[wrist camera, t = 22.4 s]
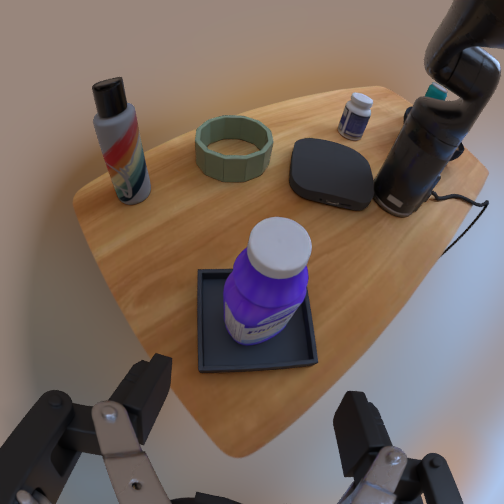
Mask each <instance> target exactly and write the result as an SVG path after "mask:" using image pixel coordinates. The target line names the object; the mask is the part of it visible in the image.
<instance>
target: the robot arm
mask: <svg viewBox="0 0 504 504" xmlns="http://www.w3.org/2000/svg"><path fill="white" fill-rule="evenodd" d="M481 47H489V48H499V49H504V0H454V1H453V3H452V5H451V7H450V9H449V11H448V13H447V15H446V16H445V18H444V19H443V21H442V23H441V24H440V26H439V27H438V29H437V30H436V32H435V33H434V35H433V37H432V39H431V41H430V42H429V44H428V47H427V49H426V53H425V58H424V65H425V70H426V72H427V74H428V75H429V76H430V77H431V78H432V79H434V80H435V81H436V82H438V83H439V84H441V85H443V86H444V87H445V88H447V89H448V90H450V91H451V92H453V93H454V94H456V95H457V96H459V97H460V98H459V99H458V100H455V101H443V100H438V99H434V98H430V97H419V98H418V99H417V100H416V101H415V103H414V105H413V107H412V109H411V111H410V113H409V115H408V117H407V119H406V121H405V123H404V125H403V127H402V129H401V131H400V133H399V135H398V137H397V139H396V141H395V143H394V145H393V147H392V148H391V150H390V152H389V154H388V156H387V158H386V160H385V162H384V163H383V165H382V167H381V169H380V171H379V173H378V174H377V176H376V178H375V179H374V180H373V183H374V196H373V197H374V199H375V201H376V202H377V203H378V204H379V205H380V206H381V207H382V208H383V209H384V210H385V211H387V212H388V213H390V214H392V215H395V216H398V217H407V216H409V215H410V214H411V213H412V212H413V211H415V212H416V211H417V209H418V208H419V207H420V206H421V204H422V203H423V202H426V201H427V200H428V198H429V197H430V196H431V194H432V195H433V196H434V197H435V199H436V200H446V199H449V198H460V199H463V200H465V201H467V202H469V203H471V204H473V205H475V206H478V207H482V206H484V207H483V209H482V210H481V212H480V213H479V214H478V216H477V217H476V218H475V219H474V221H473V222H472V223H471V224H470V225H469V226H468V228H467V229H466V230H465V231H464V232H463V233H462V234H461V235H460V236H459V237H458V238H457V239H456V240H455V241H454V242H453V243H452V244H451V245H450V246H449V247H448V248H447V249H446V250H445V251H444V252H443V253H442V255H444V253H446V252H447V251H448V250H449V249H450V248H451V247H452V246H453V245H454V244H455V243H456V242H457V241H459V239H461V237H463V235H464V234H465V233H466V232H467V231H468V230H469V229H470V228H471V227H472V226H473V225H474V224H475V222H476V221H477V220H478V219H479V217H480V216H481V215H482V213H483V212H484V211H485V209H486V208H487V206H488V204H489V201H488V200H486V201H485V202H484V203H482V204H480V203H476V202H474V201H472V200H470V199H468V198H466V197H464V196H462V195H458V194H450V195H446V196H442V197H440V196H438V195H437V193H436V192H434V191H432V190H433V188H434V187H435V186H436V184H437V183H438V182H439V180H440V178H441V176H440V173H441V172H442V170H443V169H444V167H445V166H446V165H447V163H448V162H449V160H450V158H451V157H452V155H453V154H454V152H455V151H456V149H457V148H458V146H459V145H460V143H461V141H462V140H463V138H464V137H465V136H466V135H467V133H468V132H469V131H470V129H471V128H472V126H473V124H474V123H475V121H476V120H477V118H478V117H479V115H480V114H481V112H482V110H483V109H484V107H485V106H486V104H487V103H488V101H489V100H490V98H491V97H492V95H493V93H494V92H495V90H496V88H497V85H498V83H499V80H500V76H501V67H500V64H499V62H498V61H497V60H496V59H495V58H494V57H493V56H492V55H490V54H489V53H488V52H486V51H485V50H484V49H482V48H481ZM442 255H441V256H442ZM171 371H172V358H171V357H168V356H164V355H161V354H158V353H155V354H154V356H153V357H152V359H151V360H150V362H147V361H144V360H141V361H140V362H138V363H136V364H134V365H133V366H132V368H131V369H130V370H129V372H128V374H127V375H126V376H125V378H124V379H123V380H122V382H121V383H120V384H119V386H118V387H117V389H116V390H115V392H114V393H113V394H112V396H111V397H110V398H109V400H108V401H102V402H99V403H97V404H96V405H94V406H85V405H80V404H75V403H72V400H71V398H70V397H69V395H67V394H66V393H64V392H62V391H59V390H51V391H48V392H46V393H44V394H43V395H42V396H41V397H40V398H39V400H38V401H37V402H36V403H35V404H34V406H33V407H32V408H31V409H30V411H29V412H28V413H27V414H26V416H25V417H24V418H23V419H22V421H21V422H20V423H19V424H18V426H17V427H16V428H15V429H14V431H13V432H12V433H11V435H10V436H9V437H8V439H7V440H6V441H5V443H4V444H3V445H2V447H1V448H0V504H56V502H57V500H58V498H59V496H60V494H61V492H62V490H63V488H64V485H65V484H66V482H67V480H68V478H69V476H70V474H71V472H72V470H73V469H74V466H75V465H76V463H77V461H78V459H79V457H80V455H81V453H82V452H85V453H90V454H96V455H102V456H103V459H104V463H105V466H106V469H107V472H108V475H109V478H110V481H111V483H112V486H113V489H114V491H115V494H116V497H117V499H118V501H119V504H241V503H239V502H236V501H233V500H230V499H228V498H225V497H219V496H213V495H209V494H204V493H200V492H196V495H195V498H178V499H173V500H169V498H168V497H167V494H166V493H165V491H164V489H163V487H162V485H161V483H160V481H159V479H158V477H157V475H156V473H155V471H154V469H153V467H152V465H151V462H150V460H149V458H148V456H147V454H146V453H145V452H144V451H142V449H141V447H140V444H141V445H144V444H145V442H146V440H147V438H148V435H149V433H150V431H151V429H152V427H153V425H154V423H155V420H156V418H157V416H158V414H159V412H160V410H161V408H162V406H163V403H164V401H165V399H166V397H167V395H168V392H169V389H170V384H171ZM383 424H384V423H383V420H382V419H381V416H380V413H379V411H378V409H377V408H376V407H375V406H374V405H373V404H372V403H371V402H368V401H367V398H366V396H365V393H364V392H358V391H347V392H346V394H345V395H344V397H343V399H342V401H341V403H340V405H339V407H338V409H337V411H336V412H335V415H334V419H333V426H334V430H335V435H336V439H337V444H338V449H339V454H340V459H341V464H342V469H343V474H344V477H354V482H352V484H351V485H350V487H349V488H348V490H347V491H346V492H345V494H344V495H343V497H342V498H341V499H340V500H339V502H338V503H337V504H423V501H422V497H421V494H422V493H424V496H425V499H426V503H427V504H463V501H462V498H461V496H460V493H459V491H458V488H457V486H456V483H455V481H454V478H453V476H452V473H451V471H450V469H449V467H448V464H447V462H446V460H445V459H444V458H443V457H442V456H441V455H439V454H436V453H429V454H427V455H426V456H425V457H424V458H423V459H422V460H417V459H411V458H407V456H406V454H405V453H404V452H403V451H402V450H401V449H400V448H397V447H394V446H393V445H392V443H391V441H390V438H389V435H388V433H387V430H386V428H385V425H383Z"/></svg>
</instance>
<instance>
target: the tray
mask: <svg viewBox="0 0 504 504" xmlns="http://www.w3.org/2000/svg"><path fill="white" fill-rule="evenodd" d="M232 271H233V269H198V294H197V322H198V370H199V372H200V373H222V372H247V371H263V370H276V369H287V368H297V367H306V366H313V365H315V364H317V363H318V357H317V350H316V342H315V335H314V328H313V322H312V315H311V309H310V302H309V296H308V290H307V286H306V296H305V298H304V300H303V302H302V303H301V304H300V306H299V307H298V308H297V310H296V311H295V313H294V314H293V316H292V317H291V318H290V320H289V321H288V323H287V325H286V327H285V328H284V329H283V330H282V331H281V332H280V333H278V334H277V335H276V336H274V337H272V338H270V339H269V340H267V341H264V342H262V343H259V344H255V345H242V344H239V343H237V342H236V341H235V340H234V339H233V338H232V336H231V335H230V334H229V332H228V331H227V329H226V325H225V322H224V301H223V291H224V285H225V282H226V280H227V278H228V276H229V275H230V274H231V272H232Z"/></svg>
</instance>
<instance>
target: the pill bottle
mask: <svg viewBox="0 0 504 504" xmlns="http://www.w3.org/2000/svg"><path fill="white" fill-rule="evenodd" d="M372 104H373V101H372V99H371V98H369V97H368V96H366V95H364V94H361V93H353V94H352V96H351V101H348V102H347V103H346V106H345V108H344V111H343V114H342V117H341V120H340V123H339V126H338V131H339V133H340V134H341V135H342V136H344V137H345V138H347V139H350V140H359V139H361V137H362V135H363V132H364V130H365V128H366V125H367V123H368V120H369V118H370V115H371V110H370V108H371V107H372Z"/></svg>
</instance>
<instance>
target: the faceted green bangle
mask: <svg viewBox="0 0 504 504" xmlns="http://www.w3.org/2000/svg"><path fill="white" fill-rule="evenodd" d="M222 139H241V140H244V141H247V142H250V143H252V144H254V145H255V146H257V147H258V148H259V149H260V151H257V152H254V153H251V154H249V155H246V156H240V155H223V154H220V153H217V152H215V151H212V150H209V149H208V148H207V146H208V145H209V144H210V143H213V142H216V141H219V140H222ZM272 147H273V137H272V133H271V130H270V129H268V128H267V127H266V126H265V125H264V124H262V123H261V122H260V121H258V120H255V119H252V118H249V117H245V116H235V115H229V116H228V115H225V116H224V115H223V116H220V117H216V118H213V119H209V120H207V121H206V122H204V123H203V124H202V125H201V126H200V127H199V128H197V130H196V137H195V150H196V164H197V165H198V166H199V168H200V169H201V170H202V171H203V173H204V174H205V175H207V176H210V177H212V178H215V179H217V180H220V181H222V182H245V181H248V180H250V179H253V178H255V177H258V176H260V175H262V173H263V172H264V171H265V169H266V168H267V166H268V165H269V162H270V157H271V152H272Z"/></svg>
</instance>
